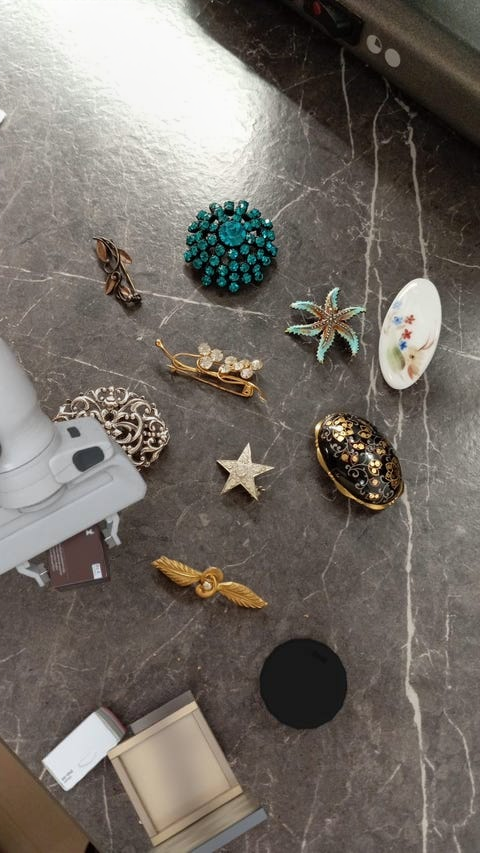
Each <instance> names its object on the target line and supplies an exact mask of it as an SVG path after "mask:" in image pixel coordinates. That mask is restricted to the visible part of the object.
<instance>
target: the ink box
mask: <svg viewBox="0 0 480 853" xmlns="http://www.w3.org/2000/svg"><path fill="white" fill-rule="evenodd" d="M125 734H127V729H126V727H125V726H124V725H123V724H122V722H121V721H120V720H119V718H118V717H117V716H116V715H115V714H114V713H113V712H112V711H111V710H110V709H109V708H107V707H106V706H105V705H102V706H100V707H99V708H98V709H96V710H95V711H93V712H92V713H91V714H90V715H88V716H87V717H86V718H85V719H83V721H82V722H80V723H79V724H78V725H77V726H76V727H75V728H74V729H73V730H72V731H70V732H69V734H67V736H65V737H64V738H63V739H62V740H61V741H60V742H59V743H58V744H57V745H56V746H55V747H54V748H53V749H52V750H51V751H50V752H49V753H48V754H47V755H45V757H44V758H43V759H42V760H41V763H42V765H43V766H44V768H46V770H47V771H48V772H49V773H50V774H51V776H52V778H54V779H55V781H56V782H57V783H58V784H59V785H60V786H61V788H62V789H63V790H64V791H65V792H68V791H70V790H71V789H73V788H74V787H75V786H76V784H77V783H78V782H80V781H81V780H82V779H83V778H84V777H85V776H86V775H87V774H88V773H89V772H91V771H92V769H93V768H95V766H97V765H98V764H99V763H100V762H101V761H102V760H103V759H104V758H105V757H106V756H108V755H107V751H108V750H109V749H111V748H113V747H115V746H116V745H118V744H119V743H120V741H121V740H122V739H123V738H124V736H125Z"/></svg>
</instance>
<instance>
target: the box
mask: <svg viewBox="0 0 480 853" xmlns="http://www.w3.org/2000/svg"><path fill="white" fill-rule="evenodd" d="M100 531H102V529H101V527H100V526H99V524H98V523H96V524H94V525H92V526H90V527H89V528H87V529H85V530H83V531H81V532H79V533H77V534H76V535H74V536H72V537H70V538H68V539H66V540H64V541H63V542H61V543H59V544H57V545H55V546H53V547H51V548H50V549H48V550H46V551H45V554H46V560H47V566H48V570H49V573H50V579H51V582H50V583H51V584H50V585H51V587H52V588H53V589H54V590H56V591H57V592H59V593H65V592H70V591H75V590H78V589H83V588H87V587H93V586H97V585H101V584H106V583H110V582H112V575H111V570H110V565H109V558H108V552H107V547H106V546H107V545H106V542H105V540H104V538H103V537H102V535H101V532H100Z"/></svg>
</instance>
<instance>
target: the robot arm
mask: <svg viewBox="0 0 480 853" xmlns="http://www.w3.org/2000/svg"><path fill="white" fill-rule="evenodd" d="M31 381H32V380H31V379H30V378H29V376H28V374H27V372H26V371H25V369H24V368H23V365H22V364H21V363H20V361H19V359H18V358H17V356H16V355H15V353H14V352H13V350H12V349H11V348H10V346H9V345H8V344H7V343H6V341H5V340H4V339H3V338H2V337H1V336H0V576H1V575H4V574H5V573H7V572H8V571H11V570H12V569H14V568H15V569H16V570H17V572H18V573H19V574H22V575H25V576H27V577H30V578H32V579H35V580H36V582H37V584H38V586H39V587H40V588H42V587H44V586H46V585H48V584H50V583H51V579H50V573H49V568H47V565H46V564H45V562H41V563H39V564H35V563H33V562H30V561H29V560H31V559H33V558H35V557H36V556H38V555H40V554H42V553H44V552H46V550H48V549H50V548H51V547H53V546H55V545H57V544H59V543H61V542H63V541H64V540H66V539H68V538H70V537H72V536H74V535H76V534H77V533H79V532H81V531H83V530H85V529H87V528H89V527H90V526H92V525H94V524H96V523H97V524H98V523H99V522H101V521H103V520H105V521H106V525H105V528H104V529H101V531H100V532H101V535H102V537H103V538H104V541H105V545H106V546H107V548H108V550H112V549H114V548H116V547H117V546H120V545H121V544H122V541H121V540H120V538H119V536H118V534H117V533H118V529H119V525H120V516H119V514H118V513H119V512H121V511H122V510H123V509H126V508H128V507H130V506H131V505H134V504H136V503H137V502H139V501H141V500H142V499H144V498H145V497H146V494H147V490H148V485H147V483H146V481H145V480H144V478H143V476H142V474H141V473H140V472H139V470H138V468H137V466H136V465H135V463H134V462H133V461H132V459H131V458H130V456H129V455H128V454H127V452H126V451H125V449H124V448H123V446H121V444H120V443H119V442H118V441H117V440H116V439H114V438H113V437H111V436H110V435H109V433H108V432H107V430H106V429H105V428H104V426H103V425H102V423H101V422H100V421H99V420H98V419H97V418H95V416H93V415H91V416H90V415H89V416H82V417H78V418H71V419H68V420H62V421H56V422H53V421H52V420H51V418H50V417H49V416H48V415H46V414H45V412H44V411H43V410H42V408H41V406H40V403H39V399H38V395H37V394H38V393H37V391H36V389H35V386H34V385H33V383H32V382H31Z"/></svg>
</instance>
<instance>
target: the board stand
mask: <svg viewBox="0 0 480 853" xmlns="http://www.w3.org/2000/svg"><path fill="white" fill-rule="evenodd" d="M192 700H195V701H196V703H197V705H198V707H199V709H200V710H201V712H202V714H203V716H204V718H205V720H206V722H207V724H208V726H209V727H210V729H211V731H212V733H213V735H214V737H215V739H216V741H217V742H218V744H219V746H220V748H221V750H222V752H223V754H224V756H225V757H226V759H227V760H228V757H227V756H226V754H225V751H224V750H223V747H222V746H221V745H220V742H219V741H218V738H217V737H216V734H215V733H214V731H213V730H212V727H211V726H210V723H209V722H208V720H207V718H206V716H205V714H204V712H203V710H202V708H201V707H200V705H199V703H198V701H197V698H195V695H194V693H193V692H192V690H191V689H190V688H189V689H187V690H186V691H184V692H182V693H180V694H178V695H177V696H175V697H174V698H172V699H170V700H169V701H167V702H165V703H163V704H162V705H160V706H158V707H157V708H155V709H153V710H151V711H150V712H148V713H146V714H144V715H143V716H141V717H139V718H138V719H136V720H134V721H133V722H130V723H129V727H130V729H131V731H132V733H133V735H135V734H137V733H138V732H140V731H142V730H143V729H145V728H147V727H148V726H150V725H152V724H153V723H155V722H157V721H159V720H160V719H162V718H164V717H165V716H167V715H169V714H170V713H172V712H174V711H176V710H177V709H179V708H181V707H182V706H184V705H186V704H187V703H189V702H191V701H192ZM268 819H270V817H269V815H268V813H267V811H266V809H265V807H264V806H263V805H261V806H260V805H259V803H258V801H257V798H256V797H255V794H254V792H253V791H252V789H251V787H247V788H245V789H243V793H241V794H239V795H238V796H236V797H235V798H233V799H231V800H230V801H228V802H226V803H225V804H223V805H222V806H220V807H218V808H217V809H215V810H213V811H212V812H210V813H209V814H207V815H205V816H204V817H202V818H201V819H199V820H197V821H196V822H194V823H192V824H191V825H189V826H188V827H186V828H184V829H183V830H181V831H179V832H178V833H176V834H175V835H173V836H171V837H170V838H168V839H166V840H165V841H163V842H162V843H160V844H158V845H157V846H155V847H154V846H153V845H152V847H150V848H149V849H148V852H147V853H215V852H217V851H219V850H220V849H222V848H224V847H225V846H226V845H228V844H230V843H231V842H233V841H235V840H236V839H238V838H239V837H241V836H242V835H244V834H246V833H248V832H249V831H251V830H252V829H254V828H255V827H257V826H259V825H260V824H262V823H263V822H265V821H267V820H268Z"/></svg>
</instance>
